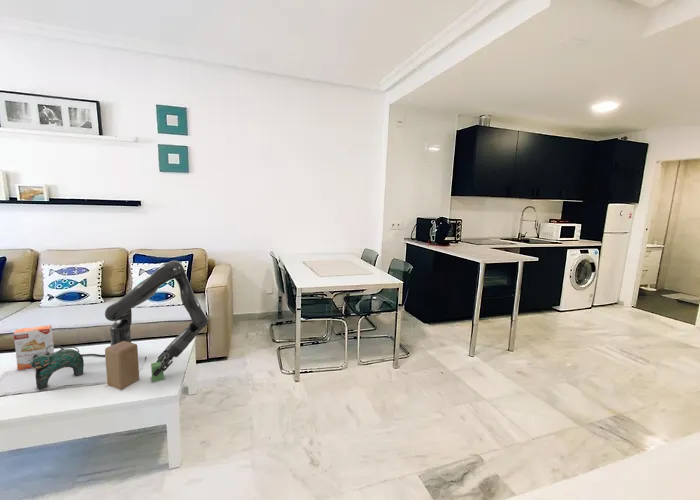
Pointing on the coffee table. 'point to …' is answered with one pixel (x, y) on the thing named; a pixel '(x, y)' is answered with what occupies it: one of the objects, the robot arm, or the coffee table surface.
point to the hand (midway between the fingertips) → (153, 371)
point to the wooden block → (122, 364)
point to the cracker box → (32, 344)
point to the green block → (153, 368)
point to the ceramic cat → (55, 364)
